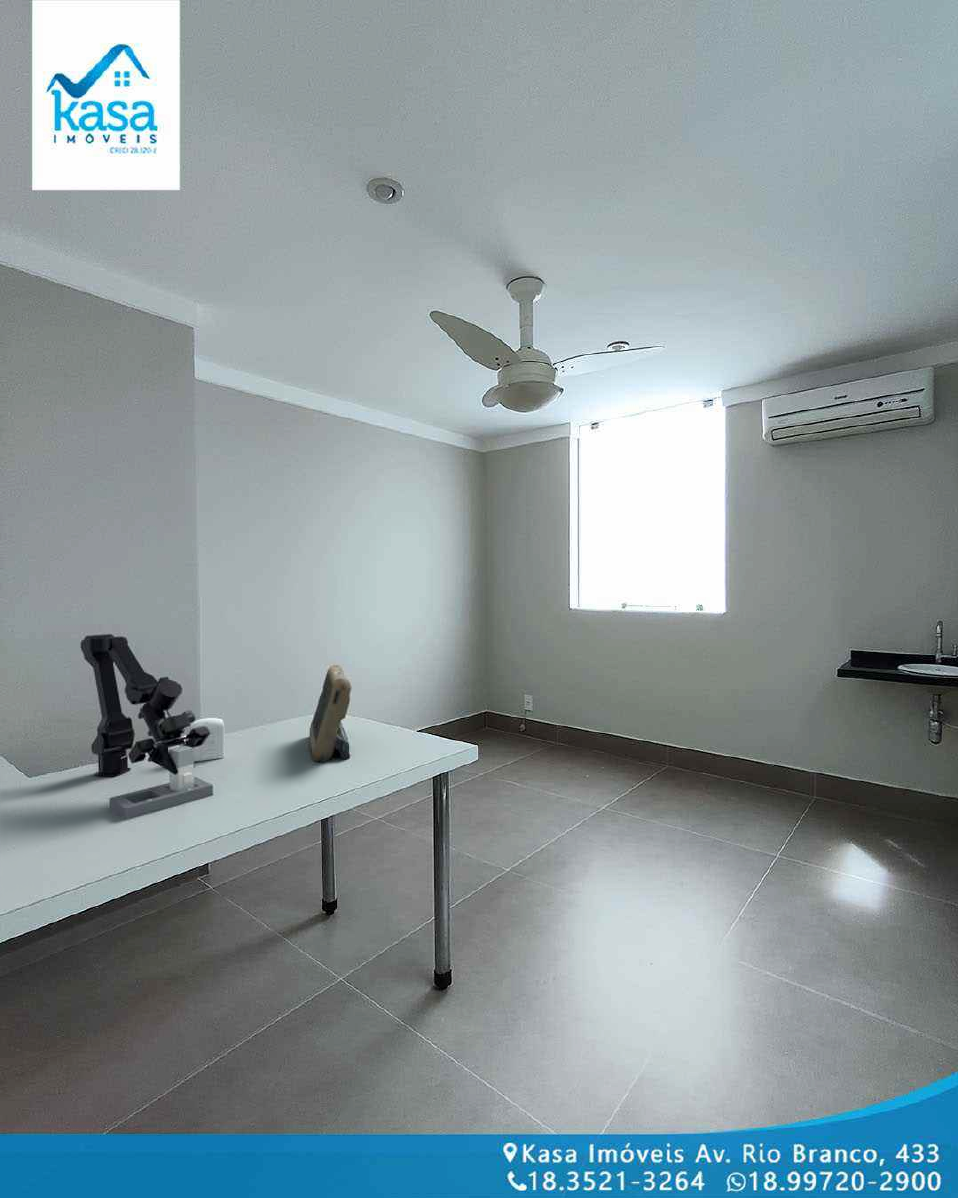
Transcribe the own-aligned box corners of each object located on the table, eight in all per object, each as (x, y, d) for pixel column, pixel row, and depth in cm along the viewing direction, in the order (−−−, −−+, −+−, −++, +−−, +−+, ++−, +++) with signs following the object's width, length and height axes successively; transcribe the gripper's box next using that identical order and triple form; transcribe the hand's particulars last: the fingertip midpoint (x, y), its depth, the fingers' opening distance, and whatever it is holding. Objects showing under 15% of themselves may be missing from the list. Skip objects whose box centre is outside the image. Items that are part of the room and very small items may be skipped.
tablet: (301, 737, 204) (301, 665, 203) (342, 733, 209) (342, 663, 208) (313, 764, 174) (313, 680, 173) (360, 759, 179) (360, 677, 178)
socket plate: (109, 808, 139) (109, 797, 139) (194, 785, 155) (194, 775, 155) (125, 819, 133) (125, 807, 133) (212, 794, 149) (212, 784, 148)
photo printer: (223, 754, 183) (222, 715, 182) (225, 758, 179) (225, 717, 179) (186, 760, 177) (186, 719, 176) (188, 763, 173) (188, 722, 173)
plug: (169, 797, 147) (169, 749, 146) (184, 792, 150) (184, 745, 150) (181, 800, 144) (180, 752, 144) (196, 795, 148) (195, 748, 147)
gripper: (134, 708, 141) (161, 762, 135) (205, 695, 157) (232, 743, 151) (117, 736, 145) (142, 789, 140) (188, 721, 161) (213, 768, 156)
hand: (185, 771), depth 147 cm, fingers closed on plug, 4 cm apart
